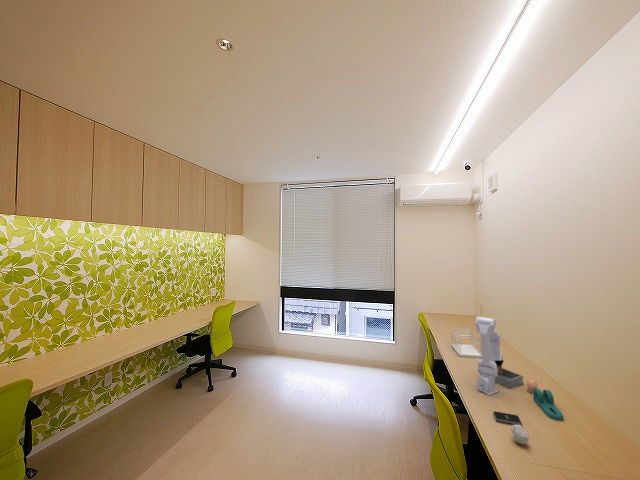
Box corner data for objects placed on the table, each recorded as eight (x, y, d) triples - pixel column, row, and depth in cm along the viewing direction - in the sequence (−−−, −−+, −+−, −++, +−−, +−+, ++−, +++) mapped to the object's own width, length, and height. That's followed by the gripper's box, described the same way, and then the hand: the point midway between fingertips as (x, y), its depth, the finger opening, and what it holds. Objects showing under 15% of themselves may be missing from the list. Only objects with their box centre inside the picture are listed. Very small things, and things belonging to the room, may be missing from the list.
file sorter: (483, 358, 208) (482, 338, 208) (459, 357, 211) (458, 337, 212) (471, 346, 232) (471, 328, 233) (450, 345, 236) (449, 328, 237)
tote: (510, 388, 162) (509, 380, 163) (482, 376, 178) (482, 369, 179) (523, 383, 168) (522, 375, 168) (495, 372, 184) (494, 365, 184)
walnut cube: (497, 376, 173) (497, 368, 174) (490, 373, 178) (489, 365, 178) (502, 374, 176) (502, 366, 176) (494, 371, 180) (494, 364, 180)
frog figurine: (520, 436, 122) (519, 421, 122) (533, 448, 115) (532, 431, 115) (507, 437, 122) (507, 421, 122) (519, 448, 115) (519, 432, 115)
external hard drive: (492, 414, 139) (492, 410, 139) (518, 419, 135) (518, 415, 135) (496, 422, 132) (496, 418, 132) (522, 427, 128) (522, 423, 128)
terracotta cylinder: (535, 395, 155) (534, 383, 155) (525, 391, 159) (524, 379, 160) (539, 393, 157) (539, 381, 157) (530, 389, 161) (529, 377, 162)
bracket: (533, 400, 150) (532, 386, 151) (548, 402, 148) (547, 387, 149) (549, 419, 133) (548, 403, 134) (566, 422, 131) (565, 406, 132)
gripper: (493, 354, 171) (494, 376, 170) (507, 350, 177) (508, 371, 176) (483, 351, 177) (484, 371, 177) (496, 347, 183) (497, 367, 183)
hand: (495, 371), depth 177 cm, fingers closed on walnut cube, 5 cm apart
